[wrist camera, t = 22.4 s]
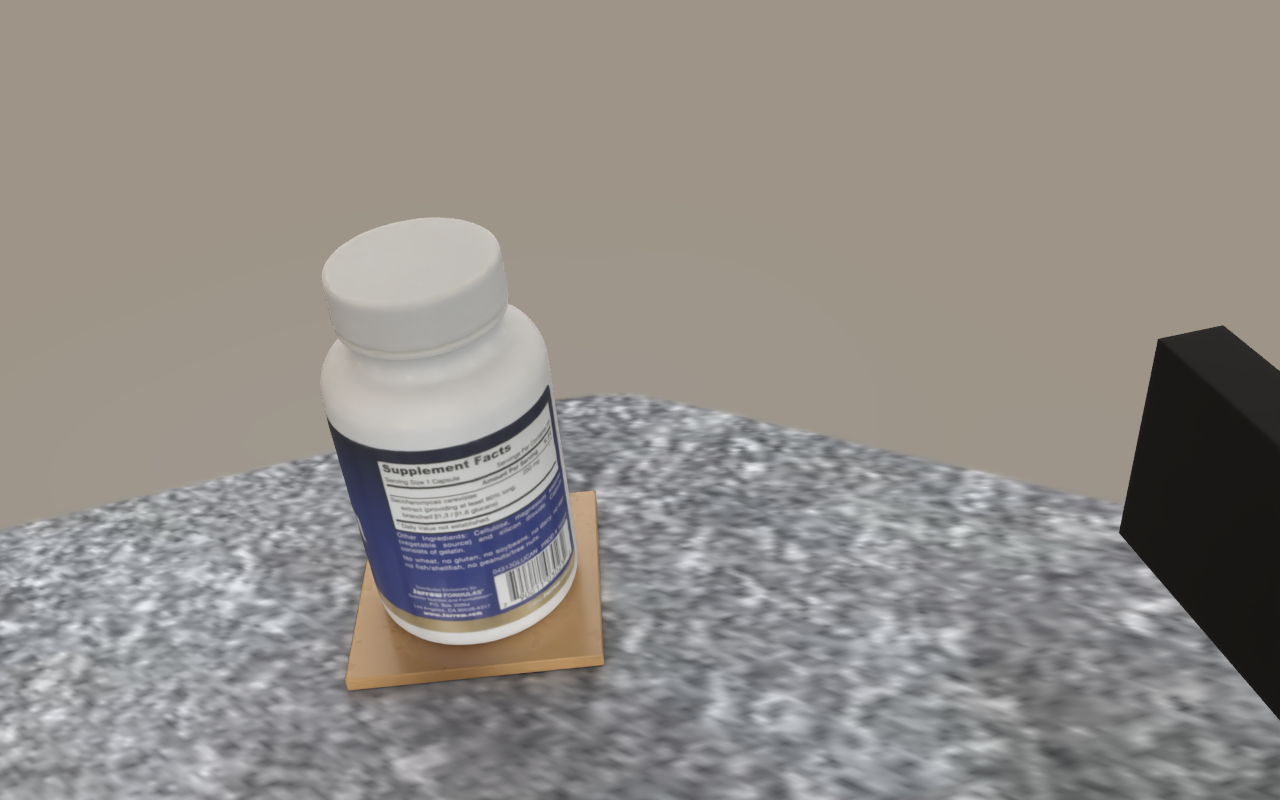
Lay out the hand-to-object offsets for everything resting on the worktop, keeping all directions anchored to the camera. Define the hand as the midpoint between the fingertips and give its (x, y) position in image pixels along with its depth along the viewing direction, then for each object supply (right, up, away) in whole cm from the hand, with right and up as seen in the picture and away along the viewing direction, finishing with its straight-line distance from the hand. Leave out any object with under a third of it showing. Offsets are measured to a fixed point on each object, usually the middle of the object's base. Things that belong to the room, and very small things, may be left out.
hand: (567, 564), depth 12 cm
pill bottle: (-4, -3, +20) cm, 20 cm away
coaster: (-4, -3, +20) cm, 20 cm away
